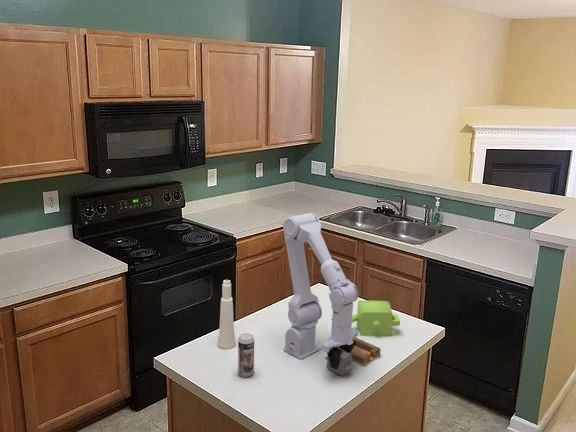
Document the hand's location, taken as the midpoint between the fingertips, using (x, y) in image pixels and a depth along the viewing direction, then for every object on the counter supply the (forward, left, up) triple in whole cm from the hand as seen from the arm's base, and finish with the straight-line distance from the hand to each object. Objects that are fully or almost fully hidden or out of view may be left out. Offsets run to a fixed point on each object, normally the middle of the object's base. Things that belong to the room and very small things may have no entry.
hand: (338, 365), depth 161 cm
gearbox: (+28, +8, -2) cm, 29 cm away
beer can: (-21, +18, -2) cm, 28 cm away
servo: (0, 0, -2) cm, 2 cm away
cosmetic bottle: (-14, +35, -2) cm, 38 cm away
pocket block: (+12, +2, -2) cm, 12 cm away
